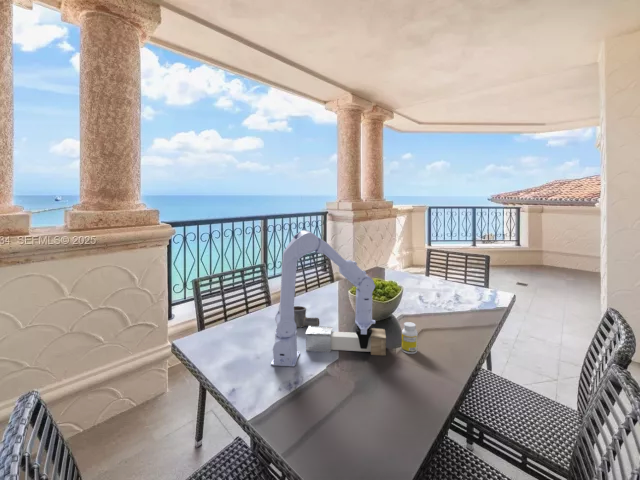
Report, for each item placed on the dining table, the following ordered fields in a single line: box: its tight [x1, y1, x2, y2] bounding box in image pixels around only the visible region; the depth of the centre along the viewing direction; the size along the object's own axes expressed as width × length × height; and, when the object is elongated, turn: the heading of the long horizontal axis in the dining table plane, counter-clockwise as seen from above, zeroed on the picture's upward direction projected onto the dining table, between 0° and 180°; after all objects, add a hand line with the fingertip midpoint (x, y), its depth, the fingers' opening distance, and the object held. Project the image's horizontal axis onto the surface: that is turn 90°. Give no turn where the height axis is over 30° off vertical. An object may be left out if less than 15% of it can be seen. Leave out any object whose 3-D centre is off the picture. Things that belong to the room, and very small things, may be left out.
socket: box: [370, 327, 387, 357], centre depth 114 cm, size 7×5×6 cm
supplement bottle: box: [401, 321, 419, 355], centre depth 113 cm, size 5×5×10 cm
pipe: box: [294, 305, 320, 329], centre depth 135 cm, size 6×13×8 cm, turn 78°
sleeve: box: [305, 325, 333, 353], centre depth 117 cm, size 7×9×6 cm
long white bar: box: [331, 331, 371, 353], centre depth 115 cm, size 4×17×5 cm, turn 82°
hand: (363, 345), depth 115 cm, fingers closed on long white bar, 4 cm apart
